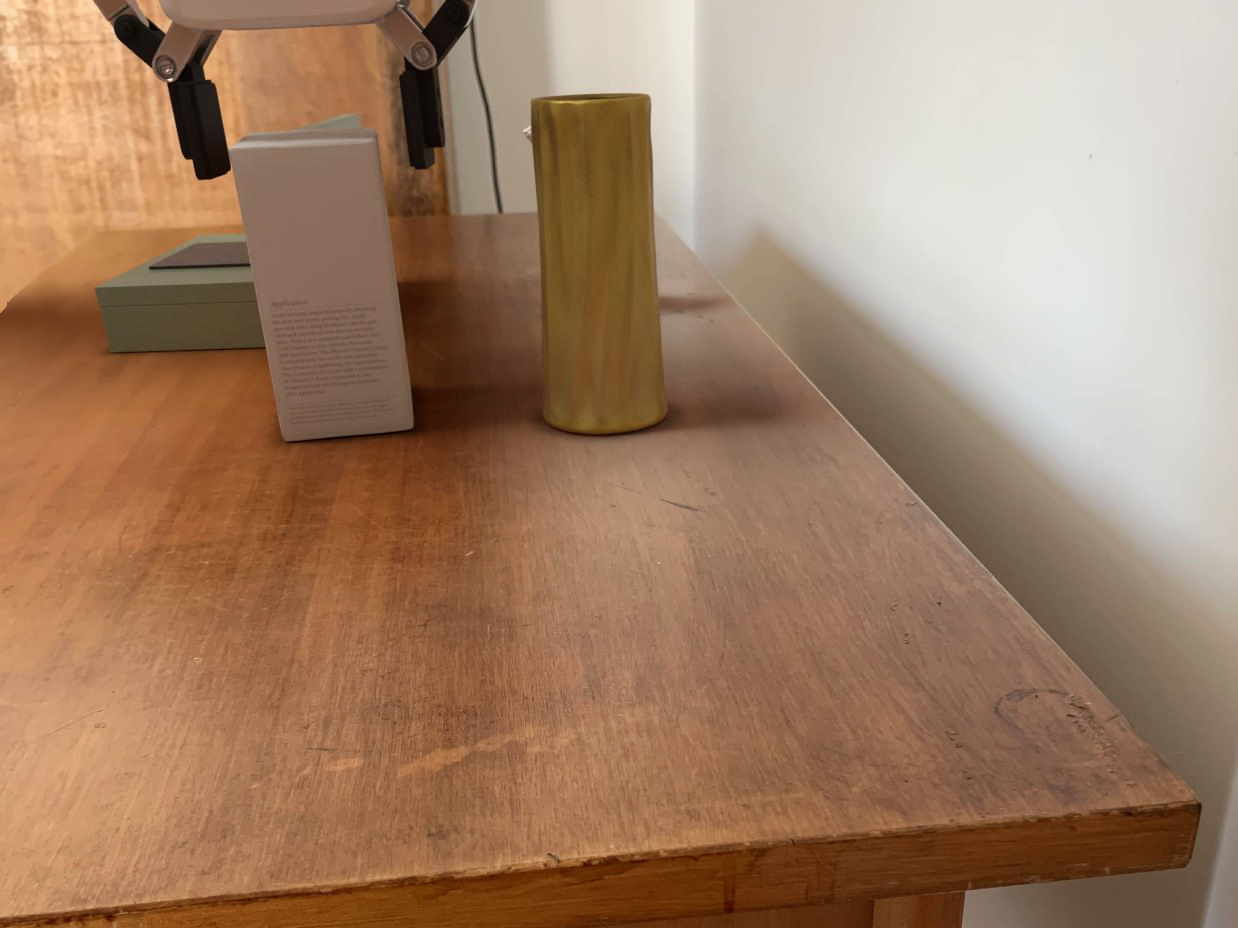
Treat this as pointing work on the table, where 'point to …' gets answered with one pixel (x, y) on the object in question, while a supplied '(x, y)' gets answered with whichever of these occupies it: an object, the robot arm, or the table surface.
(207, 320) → the green l-shaped stand
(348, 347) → the small box
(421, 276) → the table surface
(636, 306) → the vase
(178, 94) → the robot arm
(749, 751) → the table surface
